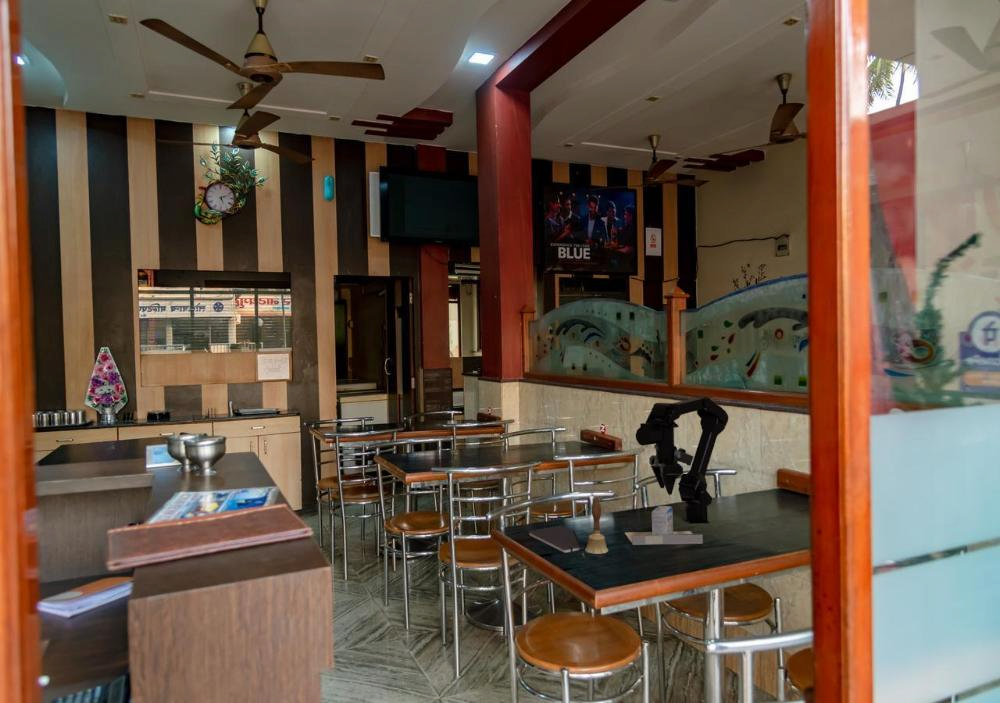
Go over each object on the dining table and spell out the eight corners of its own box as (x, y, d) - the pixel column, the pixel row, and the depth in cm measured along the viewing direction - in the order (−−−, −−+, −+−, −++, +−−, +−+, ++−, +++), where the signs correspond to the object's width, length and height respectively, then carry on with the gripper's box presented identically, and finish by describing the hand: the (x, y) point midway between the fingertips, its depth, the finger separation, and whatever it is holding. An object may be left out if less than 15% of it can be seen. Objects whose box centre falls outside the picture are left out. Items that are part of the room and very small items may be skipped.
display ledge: (690, 536, 190) (690, 531, 190) (702, 548, 178) (702, 543, 178) (624, 537, 191) (624, 532, 191) (633, 549, 179) (632, 544, 179)
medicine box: (667, 542, 180) (666, 512, 180) (651, 540, 182) (651, 511, 182) (673, 535, 187) (672, 506, 187) (658, 533, 189) (657, 505, 189)
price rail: (701, 542, 179) (701, 533, 179) (702, 543, 178) (702, 534, 178) (632, 543, 179) (632, 535, 179) (633, 544, 178) (632, 536, 178)
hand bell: (609, 550, 179) (608, 494, 179) (614, 560, 170) (612, 501, 170) (580, 550, 179) (579, 495, 179) (583, 560, 170) (582, 502, 171)
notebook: (601, 547, 183) (561, 530, 202) (601, 542, 183) (561, 525, 202) (564, 554, 177) (527, 536, 196) (564, 549, 177) (527, 531, 196)
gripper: (699, 446, 189) (700, 497, 189) (681, 437, 208) (682, 484, 208) (662, 447, 189) (663, 498, 189) (648, 438, 208) (649, 485, 208)
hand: (666, 491), depth 198 cm, fingers open, 9 cm apart
